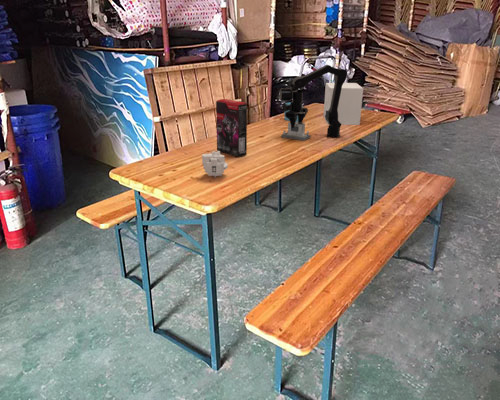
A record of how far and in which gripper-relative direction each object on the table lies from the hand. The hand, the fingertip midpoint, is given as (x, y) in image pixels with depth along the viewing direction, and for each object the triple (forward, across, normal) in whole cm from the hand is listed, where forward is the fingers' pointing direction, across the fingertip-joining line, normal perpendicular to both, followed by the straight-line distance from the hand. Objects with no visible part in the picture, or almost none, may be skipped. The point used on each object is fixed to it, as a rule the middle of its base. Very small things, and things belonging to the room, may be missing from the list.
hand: (296, 126), depth 261 cm
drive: (+5, 0, 0) cm, 5 cm away
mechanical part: (+7, +82, 0) cm, 82 cm away
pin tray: (+6, 0, 0) cm, 7 cm away
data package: (+7, -40, -22) cm, 46 cm away
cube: (+7, -59, +6) cm, 60 cm away
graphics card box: (+7, +48, -14) cm, 50 cm away
